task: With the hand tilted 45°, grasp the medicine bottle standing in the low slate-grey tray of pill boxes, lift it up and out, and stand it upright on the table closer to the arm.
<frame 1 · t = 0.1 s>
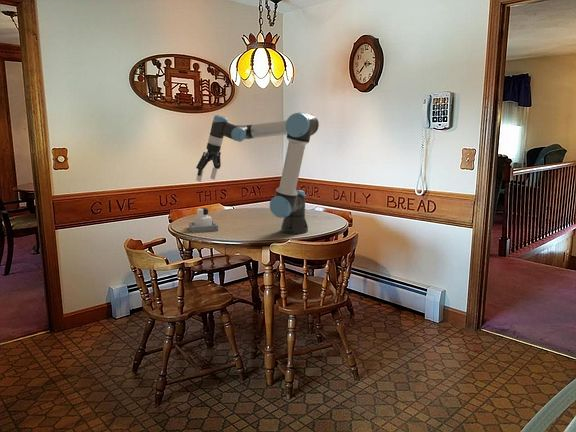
hand: (205, 179, 253), 28 cm above the table, tool tilted 20°, fingers open, 13 cm apart
medicine bottle: (203, 229, 256), resting in pill tray
pill tray: (203, 229, 256), on the table
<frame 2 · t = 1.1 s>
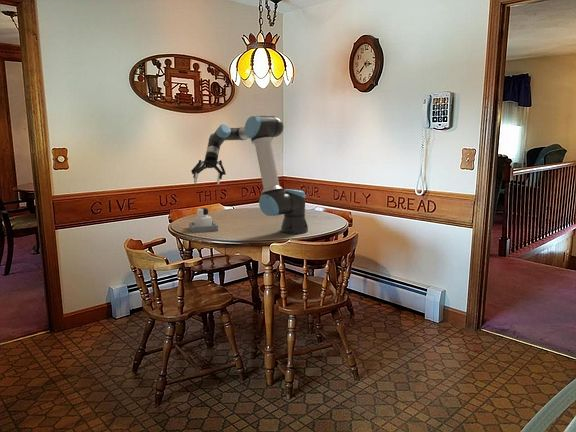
hand: (206, 183, 262), 25 cm above the table, tool tilted 45°, fingers open, 13 cm apart
nothing on the table moved.
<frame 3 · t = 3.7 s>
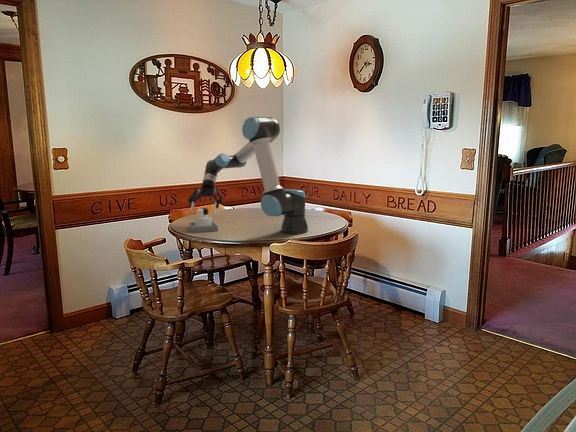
hand: (202, 212, 257), 9 cm above the table, tool tilted 45°, fingers open, 13 cm apart
nothing on the table moved.
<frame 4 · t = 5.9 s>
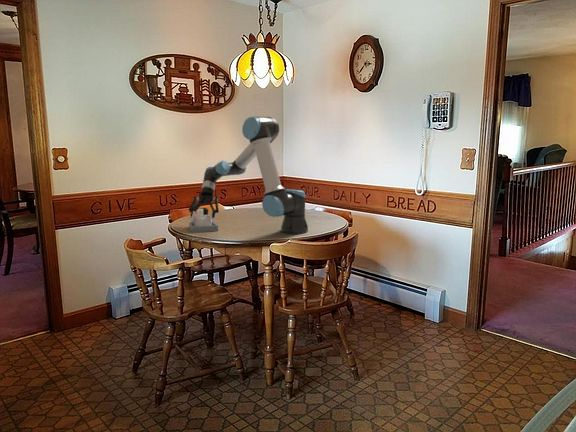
hand: (201, 222, 252), 5 cm above the table, tool tilted 45°, fingers closed on medicine bottle, 10 cm apart
medicine bottle: (203, 229, 256), resting in pill tray, touching gripper
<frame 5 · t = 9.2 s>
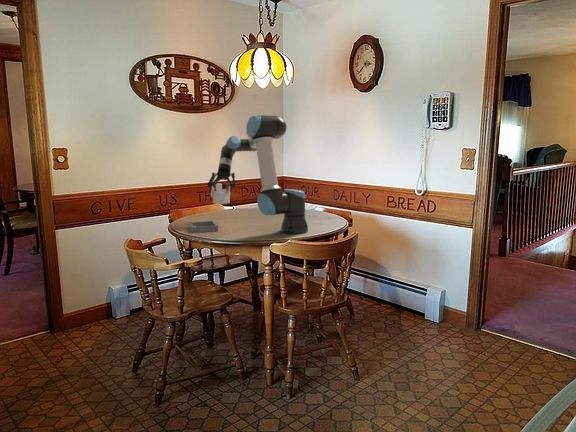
hand: (220, 196, 267), 17 cm above the table, tool tilted 45°, fingers closed on medicine bottle, 10 cm apart
medicine bottle: (221, 203, 271), point 12 cm above the table, touching gripper
when the fingers open (6 cm above the table, at t = 12.5 s): medicine bottle drops 1 cm, on the table.
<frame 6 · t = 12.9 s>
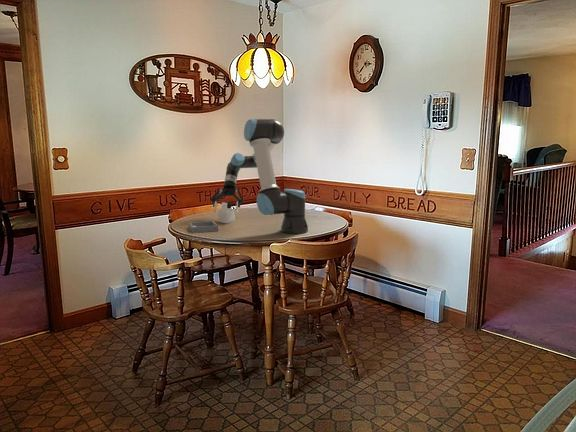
hand: (225, 211, 273), 7 cm above the table, tool tilted 45°, fingers open, 13 cm apart
medicine bottle: (226, 222, 276), on the table
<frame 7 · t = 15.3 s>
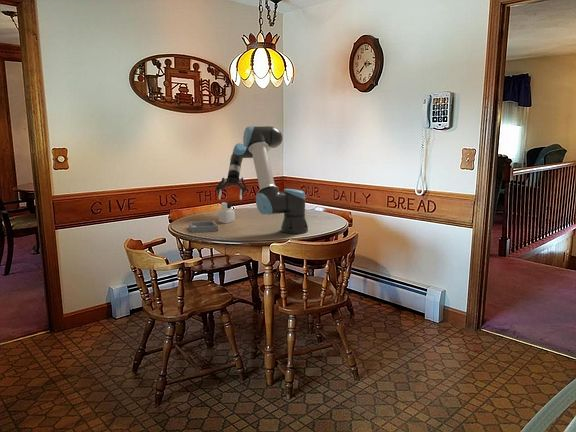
hand: (229, 198, 285), 12 cm above the table, tool tilted 45°, fingers open, 13 cm apart
nothing on the table moved.
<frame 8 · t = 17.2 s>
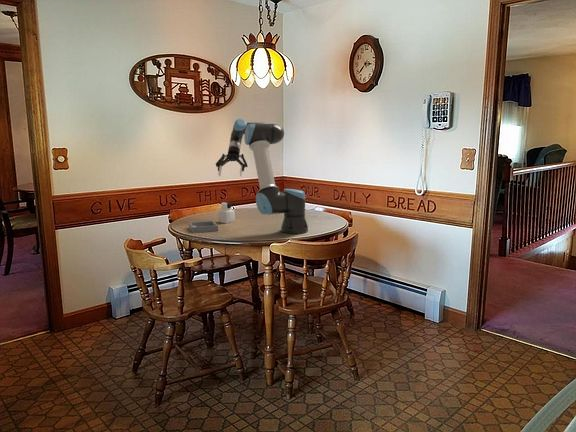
hand: (230, 174, 282), 28 cm above the table, tool tilted 45°, fingers open, 13 cm apart
nothing on the table moved.
at the end: medicine bottle inside the target area (0.1 cm from its centre), on the table; medicine bottle tilted 0°; the gripper is holding nothing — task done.
